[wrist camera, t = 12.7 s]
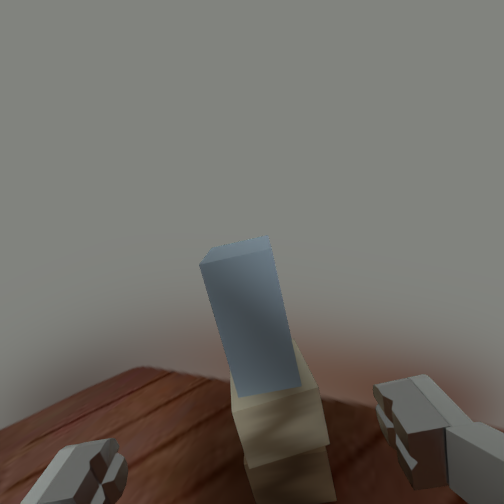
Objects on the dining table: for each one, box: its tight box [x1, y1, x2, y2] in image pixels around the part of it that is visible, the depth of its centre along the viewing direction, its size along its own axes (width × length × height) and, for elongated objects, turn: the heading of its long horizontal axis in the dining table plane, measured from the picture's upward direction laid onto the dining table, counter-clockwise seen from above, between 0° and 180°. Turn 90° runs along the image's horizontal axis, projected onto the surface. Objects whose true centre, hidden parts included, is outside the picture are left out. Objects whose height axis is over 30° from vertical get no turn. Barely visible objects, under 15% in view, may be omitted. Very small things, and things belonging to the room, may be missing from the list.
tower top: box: [230, 339, 330, 469], centre depth 20 cm, size 6×6×5 cm
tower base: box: [244, 446, 337, 504], centre depth 21 cm, size 6×6×5 cm
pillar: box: [199, 235, 302, 398], centre depth 19 cm, size 4×4×10 cm
